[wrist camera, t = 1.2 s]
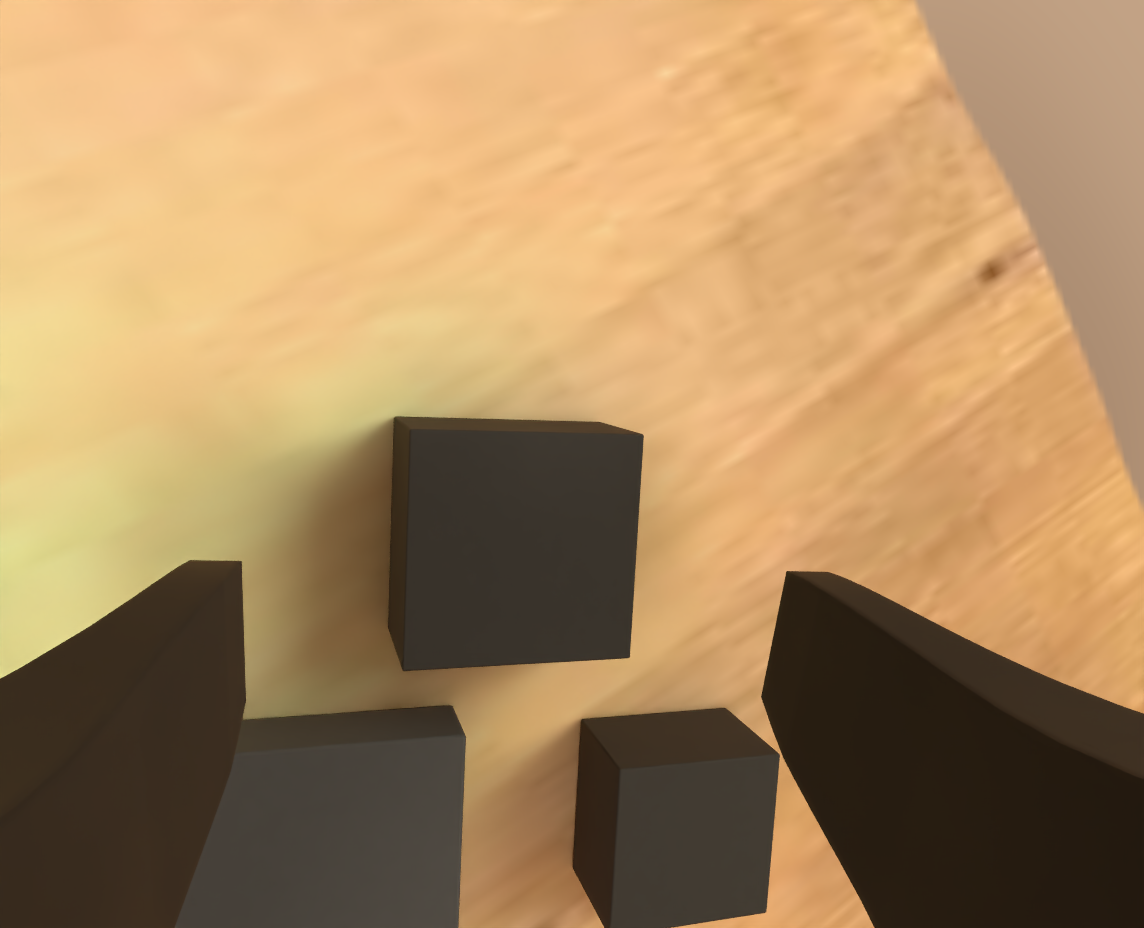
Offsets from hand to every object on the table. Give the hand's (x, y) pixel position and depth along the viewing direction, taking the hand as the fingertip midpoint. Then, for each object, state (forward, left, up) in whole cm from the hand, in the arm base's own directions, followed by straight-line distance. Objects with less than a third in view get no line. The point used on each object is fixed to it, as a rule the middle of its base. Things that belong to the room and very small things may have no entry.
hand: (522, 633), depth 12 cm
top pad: (-9, -7, -12) cm, 17 cm away
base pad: (-10, +3, -12) cm, 16 cm away
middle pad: (-1, -2, -12) cm, 12 cm away
